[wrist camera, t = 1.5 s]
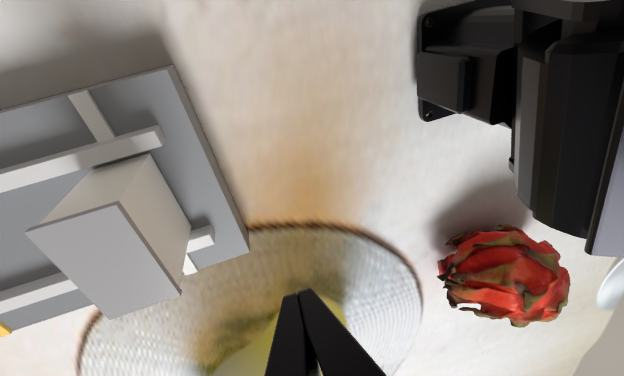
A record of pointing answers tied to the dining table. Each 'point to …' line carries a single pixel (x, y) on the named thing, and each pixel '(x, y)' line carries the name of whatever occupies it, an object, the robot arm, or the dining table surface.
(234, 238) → the fader console
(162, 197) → the fader knob
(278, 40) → the dining table surface
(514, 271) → the dragon fruit
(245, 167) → the dining table surface
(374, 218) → the dining table surface
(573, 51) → the robot arm
